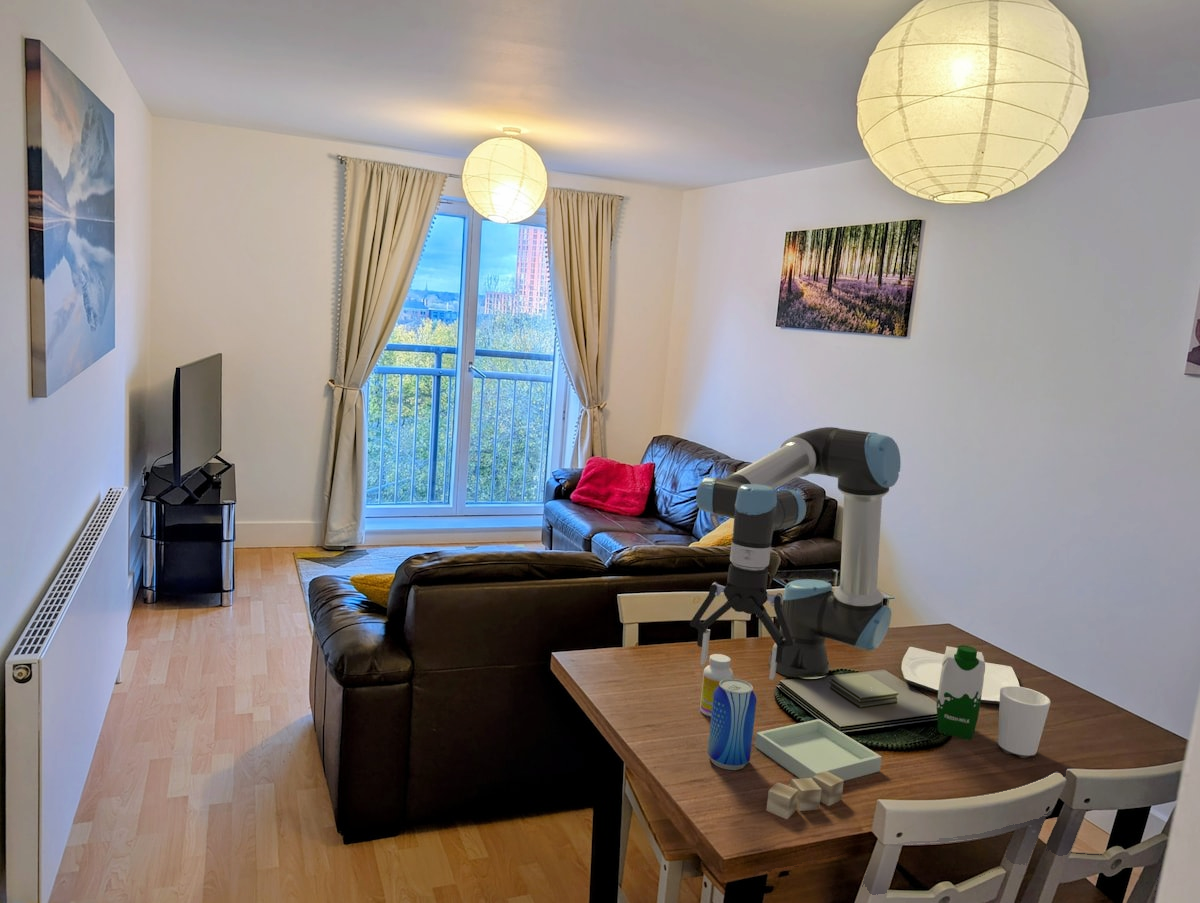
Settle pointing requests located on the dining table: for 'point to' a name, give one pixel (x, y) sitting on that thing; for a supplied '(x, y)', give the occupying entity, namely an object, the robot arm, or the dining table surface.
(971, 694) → the milk carton
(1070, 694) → the dining table surface
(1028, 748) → the cup
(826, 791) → the beech cube
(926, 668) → the plate
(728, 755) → the beer can
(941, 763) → the dining table surface
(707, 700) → the supplement bottle
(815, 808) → the beech cube
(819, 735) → the tray
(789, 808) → the beech cube
